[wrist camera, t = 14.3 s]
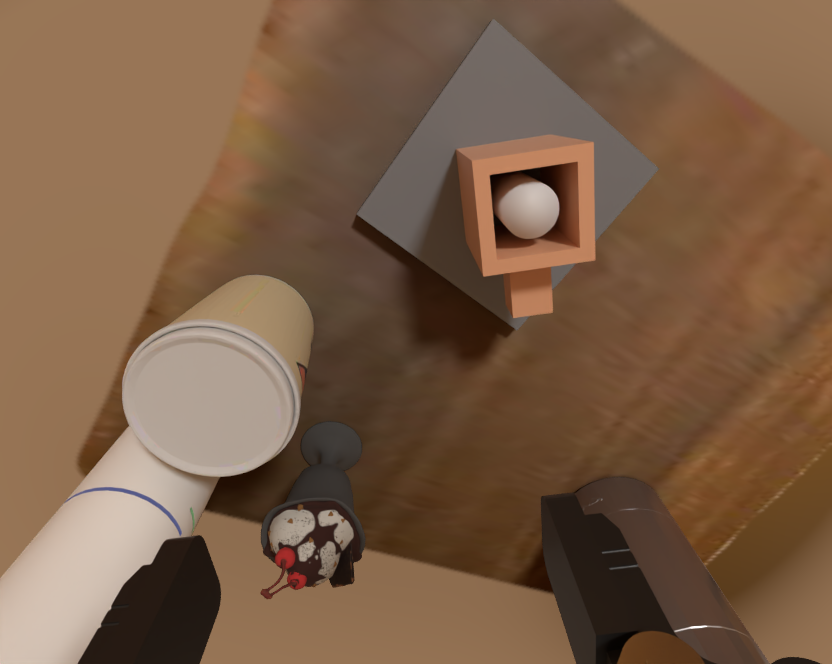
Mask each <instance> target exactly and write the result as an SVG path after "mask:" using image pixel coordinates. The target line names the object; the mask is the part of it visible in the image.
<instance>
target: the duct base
mask: <svg viewBox="0 0 832 664" xmlns="http://www.w3.org/2000/svg"><path fill="white" fill-rule="evenodd" d="M550 134H551V135H557V136H563V137H568V138H574V139H579V140H585V141H591V142H594V200H595V241H596V240H597V239H598V238H599V237H600V235H601V234H602V233H603V232H604V231H605V230H606V229H607V227H608V226H609V225H610V224H611V223H612V222H613V221H614V219H615V218H616V217H617V216H618V215H619V214H620V213H621V211H622V210H623V209H624V208H625V207H626V206H627V205H628V203H629V202H630V201H631V200H632V199H633V198H634V197H635V196H636V194H637V193H638V192H639V191H640V190H641V189H642V188H643V186H644V185H645V184H646V183H647V182H648V181H649V180H650V178H651V177H652V176H653V175H654V174H655V173H656V172H657V170H658V169H659V168H658V167H657V166H655V165H654V164H653V163H652V162H651V161H650V160H649V159H648V158H647V157H646V156H644V155H643V154H642V153H641V152H640V151H639V150H638V149H637V148H636V147H635V146H633V145H632V144H631V143H630V142H629V141H628V140H627V139H626V138H625V137H623V136H622V135H621V134H620V133H619V132H618V131H617V130H616V129H615V128H614V127H612V126H611V125H610V124H609V123H608V122H607V121H606V120H605V119H604V118H603V117H601V116H600V115H599V114H598V113H597V112H596V111H595V110H594V109H593V108H592V107H590V106H589V105H588V104H587V103H586V102H585V101H584V100H583V99H582V98H580V97H579V96H578V95H577V94H576V93H575V92H574V91H573V90H572V89H571V88H569V87H568V86H567V85H566V84H565V83H564V82H563V81H562V80H561V79H560V78H558V77H557V76H556V75H555V74H554V73H553V72H552V71H551V70H550V69H549V68H547V67H546V66H545V65H544V64H543V63H542V62H541V61H540V60H539V59H537V58H536V57H535V56H534V55H533V54H532V53H531V52H530V51H529V50H528V49H526V48H525V47H524V46H523V45H522V44H521V43H520V42H519V41H518V40H517V39H515V38H514V37H513V36H512V35H511V34H510V33H509V32H508V31H507V30H505V29H504V28H503V27H502V26H501V25H500V24H499V23H498V22H497V21H496V20H494V19H492V20H491V21H490V23H489V24H488V25H487V27H486V28H485V30H484V31H483V33H482V34H481V36H480V37H479V38H478V40H477V41H476V43H475V44H474V46H473V47H472V48H471V50H470V51H469V53H468V54H467V56H466V57H465V58H464V60H463V61H462V63H461V64H460V66H459V67H458V68H457V70H456V71H455V73H454V74H453V76H452V77H451V78H450V80H449V81H448V83H447V84H446V86H445V87H444V88H443V90H442V91H441V93H440V94H439V96H438V97H437V98H436V100H435V101H434V103H433V104H432V106H431V107H430V108H429V110H428V111H427V113H426V114H425V116H424V117H423V119H422V120H421V121H420V123H419V124H418V126H417V127H416V129H415V130H414V131H413V133H412V134H411V136H410V137H409V139H408V140H407V141H406V143H405V144H404V146H403V147H402V149H401V150H400V151H399V153H398V154H397V156H396V157H395V159H394V160H393V161H392V163H391V164H390V166H389V167H388V169H387V170H386V171H385V173H384V174H383V176H382V177H381V179H380V180H379V181H378V183H377V184H376V186H375V187H374V189H373V190H372V192H371V193H370V194H369V196H368V197H367V199H366V200H365V202H364V203H363V204H362V206H361V207H360V209H359V210H358V212H357V215H358V216H359V217H361V218H362V219H364V220H365V221H366V222H368V223H369V224H371V225H372V226H373V227H375V228H376V229H377V230H379V231H380V232H382V233H383V234H384V235H386V236H387V237H389V238H390V239H391V240H393V241H394V242H395V243H397V244H398V245H400V246H401V247H402V248H404V249H405V250H406V251H408V252H409V253H411V254H412V255H413V256H415V257H416V258H418V259H419V260H420V261H422V262H423V263H424V264H426V265H427V266H429V267H430V268H431V269H433V270H434V271H436V272H437V273H438V274H440V275H441V276H442V277H444V278H445V279H447V280H448V281H449V282H451V283H452V284H454V285H455V286H456V287H458V288H459V289H460V290H462V291H463V292H465V293H466V294H467V295H469V296H470V297H471V298H473V299H474V300H476V301H477V302H478V303H480V304H481V305H483V306H484V307H485V308H487V309H488V310H489V311H491V312H492V313H494V314H495V315H496V316H498V317H499V318H501V319H502V320H503V321H505V322H506V323H507V324H509V325H510V326H512V327H513V328H514V329H516V330H518V329H519V328H520V327H521V325H522V324H523V323H524V322H525V321H526V320H527V319H528V317H529V316H525V317H518V318H513V317H512V315H511V313H510V311H509V310H508V308H507V306H506V301H505V289H504V277H503V274H498V275H492V276H485V277H483V275H482V273H481V271H480V269H479V267H478V265H477V263H476V261H475V259H474V257H473V255H472V253H471V251H470V249H469V247H468V245H467V243H466V237H465V228H464V219H463V210H462V200H461V191H460V182H459V173H458V164H457V154H456V149H459V148H466V147H472V146H479V145H485V144H492V143H498V142H505V141H511V140H518V139H524V138H531V137H537V136H544V135H550ZM490 186H491V198H492V209H493V221H494V226H497V225H503V224H504V225H505V226H506V227H507V228H508V230H509V231H510V232H511V233H513V234H514V235H515V236H517V237H520V238H524V239H533V238H537V237H540V236H542V235H544V234H546V233H547V232H548V231H549V230H550V229H551V228H552V227H553V226H554V224H555V222H556V220H557V218H558V215H559V201H558V198H557V196H556V194H555V192H554V191H553V190H552V189H551V188H550V187H549V186H547V185H545V184H543V183H541V182H540V167H538V168H532V169H525V170H519V171H512V172H505V173H499V174H492V175H490ZM575 264H576V263H573V264H567V265H560V266H553V267H551V281H552V290H553V289H554V288H555V287H556V286H557V284H558V283H559V282H560V281H561V280H562V279H563V278H564V276H565V275H566V274H567V273H568V272H569V271H570V270H571V268H572V267H573V266H574V265H575Z"/></svg>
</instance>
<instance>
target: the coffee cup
mask: <svg viewBox="0 0 832 664" xmlns="http://www.w3.org/2000/svg"><path fill="white" fill-rule="evenodd" d="M313 334H314V324H313V318H312V314H311V312H310V309H309V307H308V305H307V304H306V302H305V301H304V299H303V298H302V297H301V295H300V294H299V293H298V292H297V291H296V290H295V289H294V288H292V287H291V286H289V285H288V284H286V283H284V282H283V281H280V280H278V279H275V278H272V277H269V276H263V275H248V276H242V277H239V278H236V279H234V280H232V281H230V282H228V283H226V284H225V285H223V286H221V287H220V288H219V289H217V290H216V291H214V292H213V293H212V294H210V295H209V296H207V297H206V298H205V299H203V300H202V301H200V302H199V303H198V304H196V305H195V306H194V307H192V308H191V309H190V310H188V311H187V312H185V313H184V314H183V315H181V316H180V317H179V318H177V319H176V320H175V321H173V322H172V323H171V324H169V325H168V326H167V327H164V328H162V329H161V330H159V331H157V332H155V333H154V334H152V335H151V336H150V337H148V338H147V339H146V340H145V341H144V342H143V343H142V344H141V345H140V346H139V347H138V348H137V349H136V351H135V352H134V353H133V355H132V356H131V358H130V360H129V362H128V364H127V366H126V369H125V372H124V376H123V384H122V402H123V408H124V412H125V416H126V418H127V421H128V423H129V425H130V427H131V429H132V431H133V432H134V434H135V435H136V437H137V438H138V439H139V441H140V442H141V443H142V444H143V445H144V446H145V447H146V448H147V449H148V450H149V451H150V452H151V453H153V454H154V455H155V456H156V457H158V458H159V459H161V460H162V461H164V462H165V463H167V464H169V465H171V466H173V467H175V468H177V469H180V470H183V471H186V472H189V473H192V474H196V475H202V476H210V477H224V476H233V475H238V474H242V473H246V472H248V471H251V470H254V469H255V468H257V467H259V466H261V465H263V464H264V463H266V462H268V461H269V460H271V459H272V458H274V457H275V456H276V455H277V454H279V453H280V452H281V451H282V450H283V448H284V447H285V446H286V445H287V443H288V442H289V441H290V439H291V437H292V436H293V434H294V432H295V429H296V427H297V424H298V420H299V415H300V407H301V405H300V401H301V397H302V392H303V387H304V383H305V378H306V373H307V368H308V363H309V358H310V352H311V347H312V341H313Z"/></svg>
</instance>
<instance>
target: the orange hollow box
mask: <svg viewBox="0 0 832 664" xmlns="http://www.w3.org/2000/svg"><path fill="white" fill-rule="evenodd" d="M456 154H457V164H458V173H459V182H460V191H461V200H462V210H463V219H464V228H465V237H466V243H467V245H468V247H469V249H470V251H471V253H472V255H473V257H474V259H475V261H476V263H477V265H478V267H479V269H480V271H481V273H482V275H483V277H485V276H492V275H498V274H503V277H504V289H505V301H506V306H507V308H508V310H509V311H510V313H511V315H512V317H513V318H518V317H525V316H532V315H539V314H545V313H552V312H553V302H552V281H551V267H553V266H560V265H567V264H573V263H580V262H587V261H594V260H595V200H594V142H591V141H585V140H579V139H574V138H568V137H563V136H557V135H551V134H550V135H544V136H537V137H531V138H524V139H518V140H511V141H505V142H498V143H492V144H485V145H479V146H472V147H466V148H459V149H456ZM538 167H540V182H541V183H543V184H545V185H547V186H549V187H550V188H551V189H552V190H553V191H554V192H555V194H556V196H557V198H558V201H559V215H558V218H557V220H556V222H555V224H554V226H553V227H552V228H551V229H550V230H549V231H548V232H547V233H546V234H544V235H542V236H540V237H537V238H533V239H524V238H520V237H517V236H515V235H514V234H513V233H511V232H510V231H509V230H508V228H507V227H506V226H505V225H504V224H503V225H497V226H494V221H493V209H492V198H491V186H490V175H492V174H499V173H505V172H512V171H519V170H525V169H532V168H538Z"/></svg>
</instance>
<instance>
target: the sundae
mask: <svg viewBox="0 0 832 664" xmlns="http://www.w3.org/2000/svg"><path fill="white" fill-rule="evenodd" d="M301 451H302V454H303V457H304V459H305V460H306V461H307V462H308V463H309V464H310V465H311V466H310V467H308V468H306V469H305V470H303V471H302V473H301V474H300V476H299V477H298V479H297V480H296V482H295V483H294V485H293V487H292V489H291V491H290V493H289V495H288V497H287V499H286V501H285V503H284V504H281V505H279V506H277V507H274V508H273V509H272V510H271V511H269V513H268V514H267V515H266V517H265V519H264V522H263V524H262V529H261V544H262V547H263V553H264V554H265V555H266V556H267V557H269V559H271V560H272V561H273V562H274V563H276V564H277V566H278V567H280V568H282V573H281V576H280V578H279V579H278V581H277V582H276V583H275V584H274V585H272V586H271V587H269V588H268V589H262V591H261V595H263V596H264V597H265V598H266V599H271V598H272V596H273V595H274V594H275V593H277V592H278V591H280V590H281V589H283V588H286V587H288V586H290V587H291V588H293V589H295V590H298V589H301V588H303V587H304V586H307V587H311V586H312V587H315V586H316V585H319V584H321V583H323V582H325V581H326V580H328V579H329V580H330V583H331V585H332V587H339V586H345V585H348V584H352V583H353V582H354V568H353V563H354V562H357V561H359V560H360V559H361V558H362V555H361V553H362V552H363V550H364V547H365V535H364V531H363V528H362V526H361V523H360V521H359V520H358V518H357V517H356V515H355V514H354V507H353V494H352V490H351V485H350V481H349V478H348V476H347V475H346V473H345V472H344V471H345V470H347V469H349V468H351V467H352V466H354V465H355V464H356V462H357V461H358V460H359V458H360V456H361V452H362V444H361V440H360V438H359V436H358V435H357V434H356V432H355V431H354V430H353V429H352V428H350V427H348V426H346V425H344V424H342V423H338V422H323V423H319V424H316V425H314V426H313V427H311V428H310V429H308V430H307V432H306V433H305V434H304V436H303V438H302V441H301ZM285 571H286V572H287V574H288V578H287V582H288V584H287V585H284V586H282V587H281V588H280V589H278V590H277V591H275V592H273V593H271V594H269V590H270V589H272V588H273V587H274V586H276V585H277V584H278V583H279V582H280V580H281V579H282V577H283V575H284V573H285Z"/></svg>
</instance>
